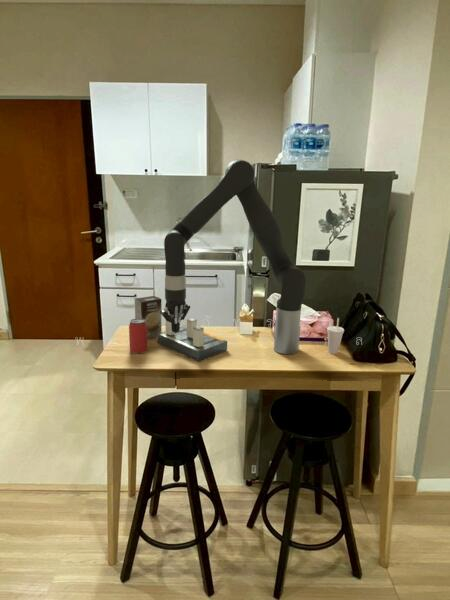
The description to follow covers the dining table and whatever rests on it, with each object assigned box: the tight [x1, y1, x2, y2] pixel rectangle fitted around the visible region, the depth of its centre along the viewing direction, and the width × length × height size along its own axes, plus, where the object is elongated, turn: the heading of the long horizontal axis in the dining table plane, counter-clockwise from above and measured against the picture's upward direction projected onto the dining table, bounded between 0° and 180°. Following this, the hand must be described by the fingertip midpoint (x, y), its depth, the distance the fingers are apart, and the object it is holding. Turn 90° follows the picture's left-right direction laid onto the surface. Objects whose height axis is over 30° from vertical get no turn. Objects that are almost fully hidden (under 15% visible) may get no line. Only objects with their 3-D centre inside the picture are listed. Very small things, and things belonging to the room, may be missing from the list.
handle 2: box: [193, 325, 205, 347], centre depth 149 cm, size 2×3×7 cm
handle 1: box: [164, 318, 175, 335], centre depth 159 cm, size 2×3×7 cm
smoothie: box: [326, 317, 345, 355], centre depth 156 cm, size 6×6×14 cm
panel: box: [156, 324, 228, 363], centre depth 158 cm, size 15×24×4 cm, turn 47°
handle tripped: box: [186, 317, 198, 338], centre depth 157 cm, size 2×3×7 cm
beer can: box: [128, 318, 149, 354], centre depth 152 cm, size 7×7×12 cm
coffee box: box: [134, 295, 163, 340], centre depth 167 cm, size 9×6×16 cm
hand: (175, 331), depth 151 cm, fingers closed
